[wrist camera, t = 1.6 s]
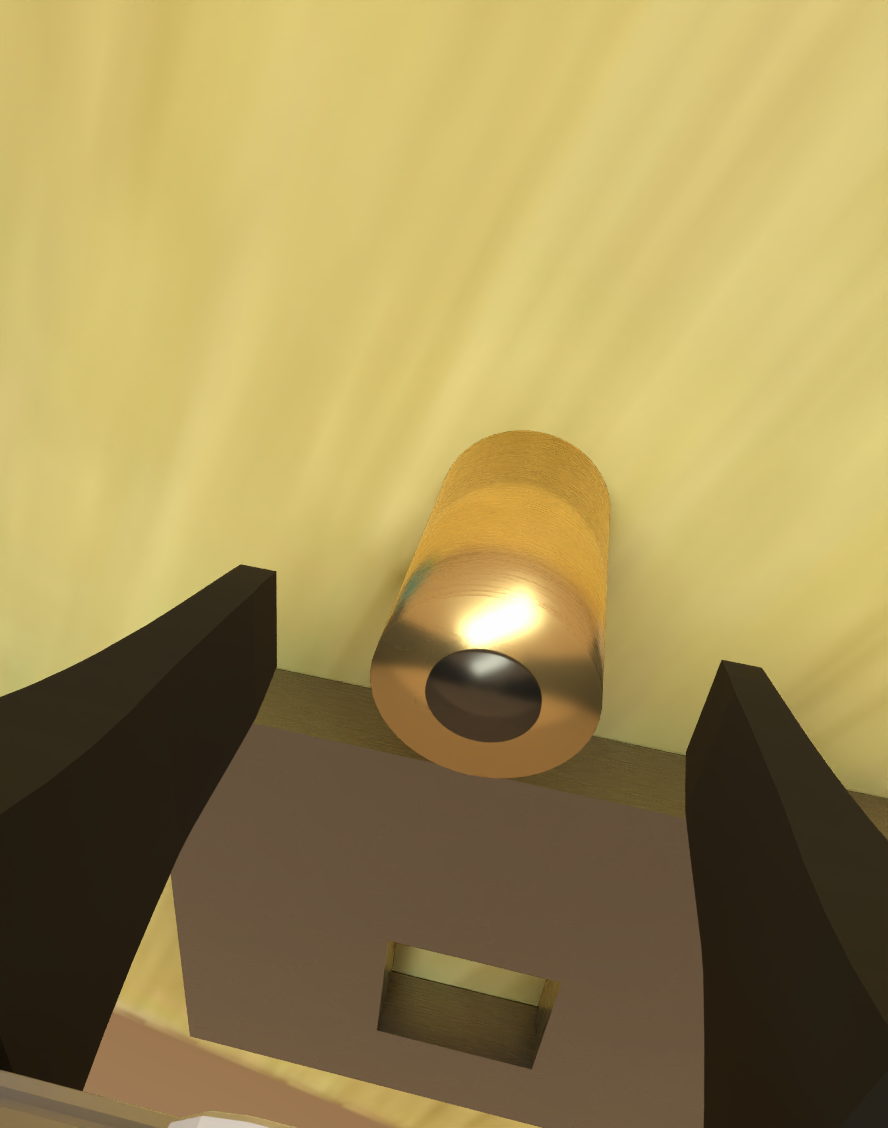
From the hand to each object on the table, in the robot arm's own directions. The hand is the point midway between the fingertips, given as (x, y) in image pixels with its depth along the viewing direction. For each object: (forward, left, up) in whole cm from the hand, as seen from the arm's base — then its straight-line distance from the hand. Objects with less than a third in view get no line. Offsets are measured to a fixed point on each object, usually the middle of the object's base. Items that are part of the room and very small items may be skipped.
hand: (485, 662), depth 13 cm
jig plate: (-1, +14, -5) cm, 15 cm away
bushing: (0, 0, -5) cm, 5 cm away
